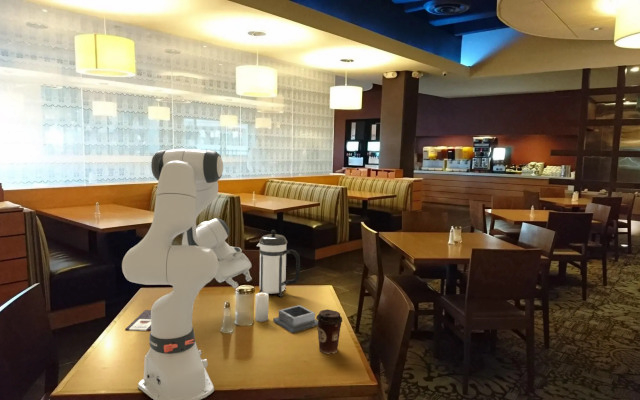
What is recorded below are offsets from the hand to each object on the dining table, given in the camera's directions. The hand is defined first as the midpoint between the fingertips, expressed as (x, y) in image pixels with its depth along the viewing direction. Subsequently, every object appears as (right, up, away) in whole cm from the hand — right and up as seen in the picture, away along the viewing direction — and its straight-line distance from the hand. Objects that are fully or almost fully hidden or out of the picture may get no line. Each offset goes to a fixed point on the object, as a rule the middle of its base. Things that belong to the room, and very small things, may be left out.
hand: (243, 283), depth 168 cm
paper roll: (+8, -14, -2) cm, 16 cm away
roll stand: (+22, -14, -5) cm, 26 cm away
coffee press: (+10, -10, +29) cm, 32 cm away
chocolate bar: (-36, -14, -7) cm, 39 cm away
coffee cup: (+33, -17, -26) cm, 46 cm away
